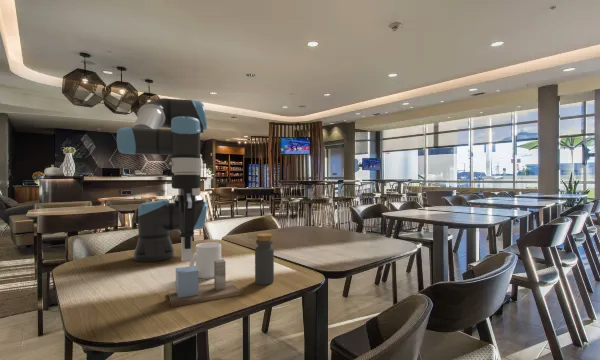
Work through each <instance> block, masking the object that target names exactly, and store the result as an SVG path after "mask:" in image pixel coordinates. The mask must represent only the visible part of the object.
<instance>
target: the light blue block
mask: <svg viewBox="0 0 600 360" xmlns="http://www.w3.org/2000/svg"><path fill="white" fill-rule="evenodd" d="M199 279H200V278H198V269H197V268H196V265H194V266H183V267H182V266H181V267H175V290H176V293H177V296H178V298H182V297H188V296H194V295H199V286H200V285H199Z"/></svg>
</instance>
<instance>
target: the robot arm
mask: <svg viewBox="0 0 600 360" xmlns="http://www.w3.org/2000/svg"><path fill="white" fill-rule="evenodd" d="M136 117H137V118H136V120H135V121H134V123H133V125H132V126H131V127H130V126H129V127H128V126H127V127H119V128H118V129H117V132H116V145H117V146H116V147H117V149H118V152H119V153H120V154H124V155H125V154H126V155H127V154H128V155H131V156H132V155H133V156H134V155H161V156H162V155H163V156H164V155H165V156H168V155H169V156H171V161H169V162H168V165H169V166H171V173H172V175H171V188H172V189H176V190H178V193H177V196H175V198H174V202H170V199H159V200H154V201H147V202H144V203H141V204H140V205H139V206H138V211H137V212H138V214H137V217H138V218H137V219H138V221H137V223H138V224H137V225H138V230H137V233H138V239H137V244H136V246H135V249H134V253H133V260H134V261H135V262H139V263H142V262H144V263H146V262H158V261H165V260H169V259H171V258H173V257H174V256H175V249H174V246H173V243H172V240H171V238H170V232H172V231H173V232H175V231H179V232H180V234H179V238H181V239H180V241H181V242H180V243H181V244H180V245H181V247H180V248H181V249H180V252H181V253H180V254H181V255H180V256H181V262H184V261H185V262H186V261H190V260H193V254H194V252H193V236H194V235H195V231H196V230H201V229H203V228H204V227H205V226H206V225H205V224H206V219H207V213H208V212H207V211H208V202H207V201H205V199H204V197H203V196H202V195H201V186H202V185H201V180H202V179H201V172H202V170H201V169H202V165H201V164H202V163H201V162H202V161H201V137H202V136H203V135H204V131H205V130H207V129H208V124H207V115H206V110H205V105H204V103H203V102H202V101H200V100H194V99H182V98H181V99H179V98H168V97H167V98H166V97H165V98H156V99H153V100H150V101H148V102H145V103H144V104H143V105H141V106H140V108H139V109H138V111H137V115H136ZM194 230H195V231H194Z"/></svg>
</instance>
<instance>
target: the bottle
mask: <svg viewBox="0 0 600 360" xmlns="http://www.w3.org/2000/svg"><path fill="white" fill-rule="evenodd" d="M272 237H273V235H272V233H266V232H265V233H263V232H262V233H257V234H256V238H257V239H256V242H255V244H257V247H255V248H254V276H255V277H254V283H255V284H256V285H260V286H261V285H262V286H266V285H271V284H273V283H274V281H275V279H274V278H275V276H274V275H275V264H274V261H275V260H274V259H275V257H274V256H275V254H274V251H275V250H274V247H273V246H272V244H273V239H272Z"/></svg>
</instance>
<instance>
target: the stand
mask: <svg viewBox="0 0 600 360" xmlns="http://www.w3.org/2000/svg"><path fill="white" fill-rule="evenodd" d="M226 275H227V274H226V260H225V259H223V258H221V260H214V278H213V279H214V282H213V283H209V284H204V285H203V284H202V285H199V295H194V296H188V297H182V298H178V296H177V293H176V289H172V290H171V289H170V290H167V296H168V299H169V303H170V305H171V308H175V307H176V308H177V307H180V306H184V305H185V306H186V305H190V304H197V303H202V302H208V301H213V300H220V299H225V298H231V297H235V296H241V290H240V289H239V288H238V287H237V286H236V285H235V284H234V283H233V282H232V281H231V280H228V281H226Z"/></svg>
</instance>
